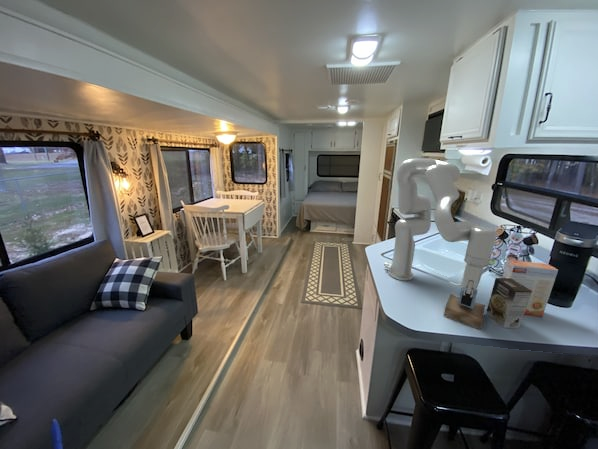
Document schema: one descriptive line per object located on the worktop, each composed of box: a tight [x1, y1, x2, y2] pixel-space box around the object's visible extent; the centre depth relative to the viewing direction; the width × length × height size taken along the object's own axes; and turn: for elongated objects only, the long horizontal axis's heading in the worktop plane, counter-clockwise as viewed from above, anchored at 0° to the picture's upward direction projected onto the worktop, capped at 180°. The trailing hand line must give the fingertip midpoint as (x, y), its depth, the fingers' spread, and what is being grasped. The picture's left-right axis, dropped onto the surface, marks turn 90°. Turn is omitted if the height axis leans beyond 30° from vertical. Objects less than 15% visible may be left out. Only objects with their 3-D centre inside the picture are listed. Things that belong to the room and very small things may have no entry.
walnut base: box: [443, 293, 486, 330], centre depth 94 cm, size 12×12×4 cm
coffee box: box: [485, 277, 532, 329], centre depth 90 cm, size 9×6×16 cm
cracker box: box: [501, 259, 559, 317], centre depth 96 cm, size 14×6×21 cm, turn 73°
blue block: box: [458, 287, 478, 309], centre depth 93 cm, size 5×5×6 cm
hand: (466, 300), depth 93 cm, fingers closed on blue block, 4 cm apart
